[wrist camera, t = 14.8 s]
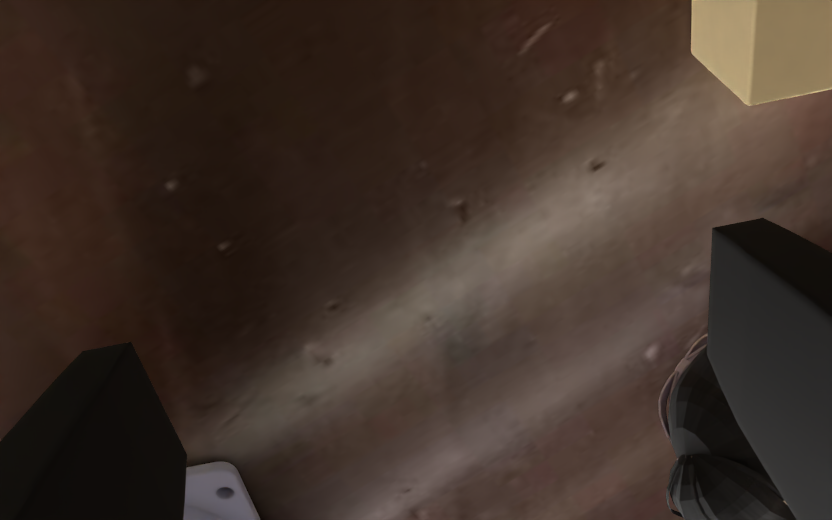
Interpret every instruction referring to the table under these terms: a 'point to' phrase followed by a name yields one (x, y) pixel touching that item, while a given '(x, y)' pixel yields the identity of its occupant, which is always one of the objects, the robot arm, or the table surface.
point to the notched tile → (765, 46)
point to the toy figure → (712, 450)
